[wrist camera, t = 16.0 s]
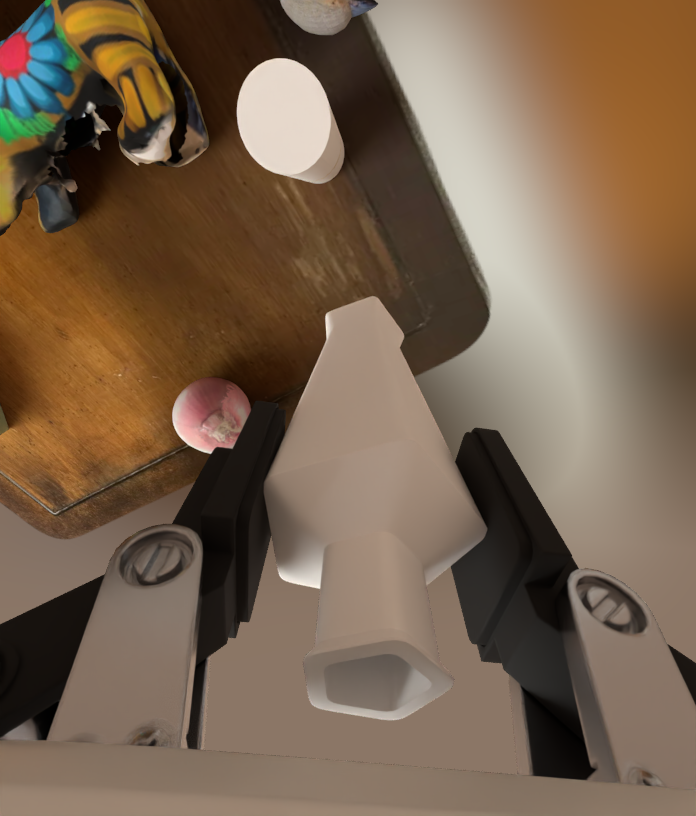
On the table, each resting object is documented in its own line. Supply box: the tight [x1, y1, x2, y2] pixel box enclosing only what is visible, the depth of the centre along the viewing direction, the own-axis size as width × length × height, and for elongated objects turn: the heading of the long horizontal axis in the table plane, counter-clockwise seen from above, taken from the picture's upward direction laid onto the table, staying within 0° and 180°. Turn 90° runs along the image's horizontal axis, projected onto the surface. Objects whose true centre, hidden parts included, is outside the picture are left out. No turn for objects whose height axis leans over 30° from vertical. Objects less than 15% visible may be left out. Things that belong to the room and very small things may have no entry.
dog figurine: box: [0, 0, 209, 236], centre depth 25 cm, size 20×12×18 cm
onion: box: [172, 377, 251, 454], centre depth 39 cm, size 8×8×7 cm
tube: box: [237, 58, 344, 184], centre depth 24 cm, size 4×4×15 cm
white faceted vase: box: [264, 296, 487, 720], centre depth 12 cm, size 5×4×15 cm
